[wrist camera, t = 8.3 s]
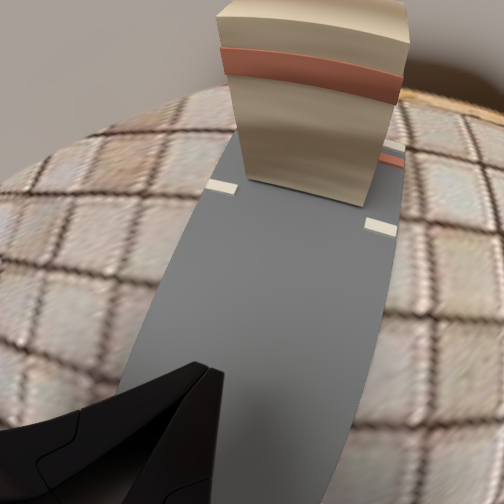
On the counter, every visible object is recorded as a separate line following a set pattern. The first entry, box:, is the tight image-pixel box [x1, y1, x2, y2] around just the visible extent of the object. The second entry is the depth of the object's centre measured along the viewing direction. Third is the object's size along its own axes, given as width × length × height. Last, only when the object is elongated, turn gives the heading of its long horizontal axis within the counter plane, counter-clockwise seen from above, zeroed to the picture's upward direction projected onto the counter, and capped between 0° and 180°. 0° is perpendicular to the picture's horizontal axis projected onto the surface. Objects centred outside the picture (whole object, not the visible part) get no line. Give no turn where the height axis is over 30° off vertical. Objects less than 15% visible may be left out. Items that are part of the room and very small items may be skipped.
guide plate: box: [115, 128, 406, 504], centre depth 14 cm, size 22×10×1 cm, turn 161°
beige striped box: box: [216, 0, 410, 207], centre depth 12 cm, size 4×6×9 cm
